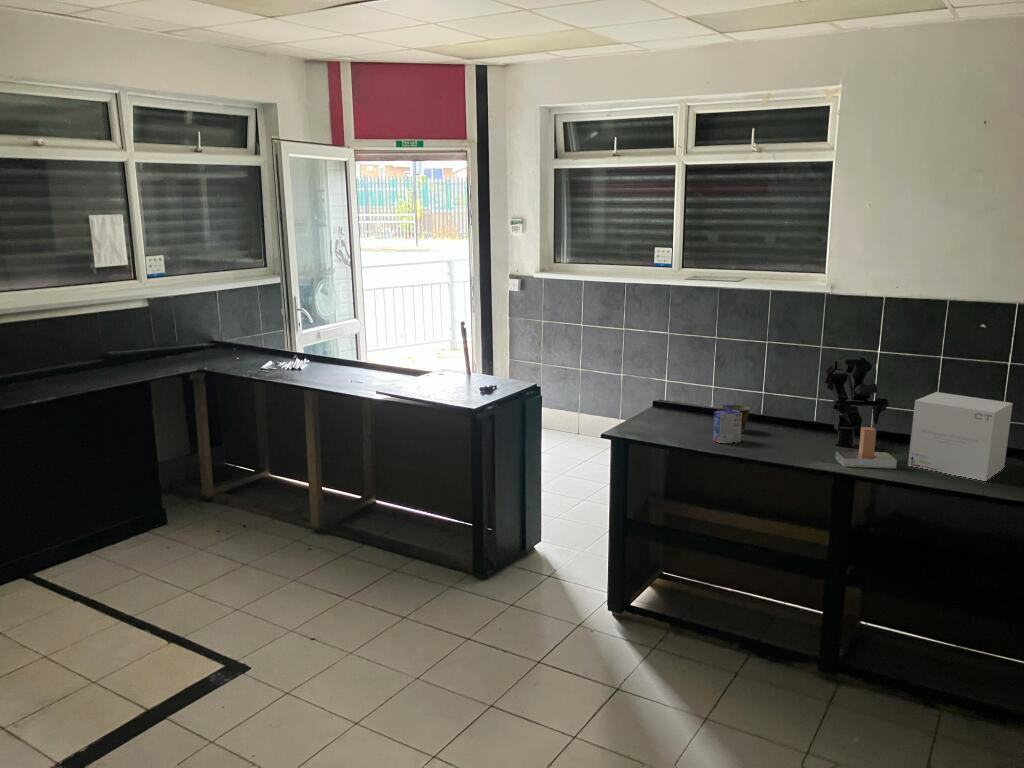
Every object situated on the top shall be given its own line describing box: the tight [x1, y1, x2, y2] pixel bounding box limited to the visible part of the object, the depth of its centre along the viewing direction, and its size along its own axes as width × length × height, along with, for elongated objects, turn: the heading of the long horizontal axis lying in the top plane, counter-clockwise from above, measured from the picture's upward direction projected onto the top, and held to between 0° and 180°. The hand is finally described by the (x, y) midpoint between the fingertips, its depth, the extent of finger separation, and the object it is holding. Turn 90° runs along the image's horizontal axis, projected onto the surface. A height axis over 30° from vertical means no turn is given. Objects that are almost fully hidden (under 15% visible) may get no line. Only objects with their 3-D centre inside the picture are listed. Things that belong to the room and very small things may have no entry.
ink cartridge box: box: [712, 404, 742, 444], centre depth 316 cm, size 10×6×14 cm, turn 106°
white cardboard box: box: [907, 391, 1014, 482], centre depth 283 cm, size 25×21×24 cm
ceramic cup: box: [716, 404, 750, 433], centre depth 333 cm, size 13×10×10 cm
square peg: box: [858, 426, 877, 458], centre depth 288 cm, size 4×4×13 cm
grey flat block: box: [835, 450, 898, 470], centre depth 289 cm, size 10×18×3 cm, turn 84°
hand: (863, 423), depth 292 cm, fingers open, 9 cm apart
